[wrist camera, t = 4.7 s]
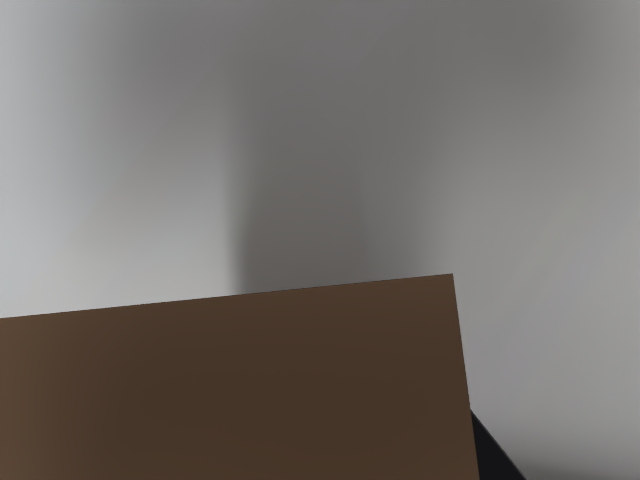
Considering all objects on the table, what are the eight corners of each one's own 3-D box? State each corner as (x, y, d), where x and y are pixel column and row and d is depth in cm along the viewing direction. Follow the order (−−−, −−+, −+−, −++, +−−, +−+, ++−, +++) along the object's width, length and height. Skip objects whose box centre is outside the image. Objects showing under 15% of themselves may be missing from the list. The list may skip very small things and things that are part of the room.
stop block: (405, 494, 16) (530, 869, 5) (222, 510, 16) (-52, 905, 5) (384, 308, 16) (452, 273, 6) (210, 325, 17) (-52, 323, 6)
